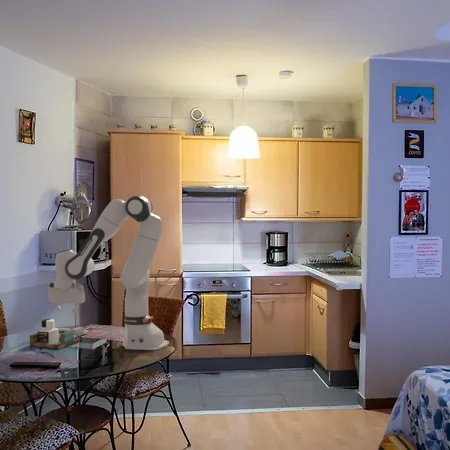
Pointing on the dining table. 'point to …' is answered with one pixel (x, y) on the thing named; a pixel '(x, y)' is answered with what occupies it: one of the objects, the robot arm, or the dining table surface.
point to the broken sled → (75, 331)
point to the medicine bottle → (48, 332)
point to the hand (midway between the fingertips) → (67, 312)
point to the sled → (64, 340)
